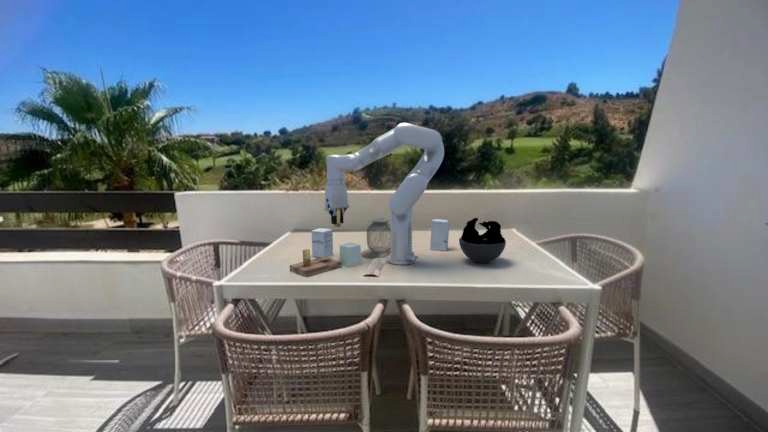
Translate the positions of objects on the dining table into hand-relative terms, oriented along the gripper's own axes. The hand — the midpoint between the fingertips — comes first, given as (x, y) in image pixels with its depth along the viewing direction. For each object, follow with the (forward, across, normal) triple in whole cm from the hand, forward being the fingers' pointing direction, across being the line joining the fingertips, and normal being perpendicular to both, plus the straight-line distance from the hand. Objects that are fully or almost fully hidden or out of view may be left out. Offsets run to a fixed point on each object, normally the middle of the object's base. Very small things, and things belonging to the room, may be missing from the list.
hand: (337, 223), depth 174 cm
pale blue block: (+17, +1, +9) cm, 19 cm away
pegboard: (+17, +15, +4) cm, 23 cm away
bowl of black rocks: (+18, -42, +49) cm, 66 cm away
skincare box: (+17, -47, +22) cm, 55 cm away
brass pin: (+1, 0, 0) cm, 1 cm away
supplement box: (+17, +1, -11) cm, 21 cm away
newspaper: (+18, -4, +22) cm, 28 cm away
